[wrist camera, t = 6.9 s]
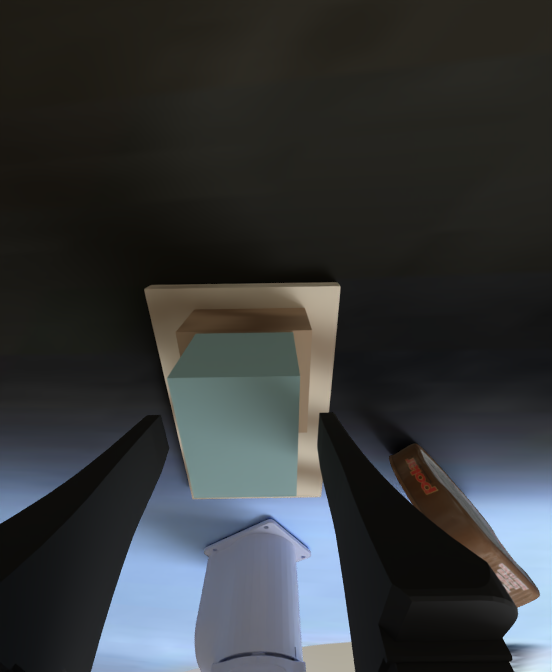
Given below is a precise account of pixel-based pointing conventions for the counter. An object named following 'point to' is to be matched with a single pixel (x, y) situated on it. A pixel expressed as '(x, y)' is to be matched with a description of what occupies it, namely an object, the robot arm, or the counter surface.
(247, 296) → the birch board
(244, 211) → the counter surface
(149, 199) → the counter surface
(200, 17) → the counter surface
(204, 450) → the teal brick
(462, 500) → the tin
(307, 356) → the walnut block
